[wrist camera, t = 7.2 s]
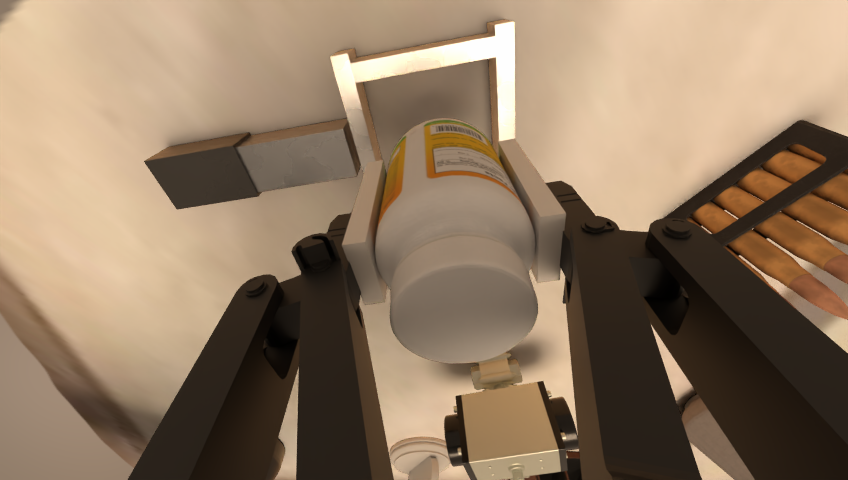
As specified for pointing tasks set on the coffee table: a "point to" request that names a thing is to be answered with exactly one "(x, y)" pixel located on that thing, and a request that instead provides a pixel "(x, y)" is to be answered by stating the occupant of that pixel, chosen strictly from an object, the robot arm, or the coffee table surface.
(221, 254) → the coffee table surface
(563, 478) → the letter holder
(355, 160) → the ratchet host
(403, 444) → the chess piece
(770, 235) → the ammunition clip
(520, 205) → the supplement bottle
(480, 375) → the pneumatic valve
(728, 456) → the coffee pot
